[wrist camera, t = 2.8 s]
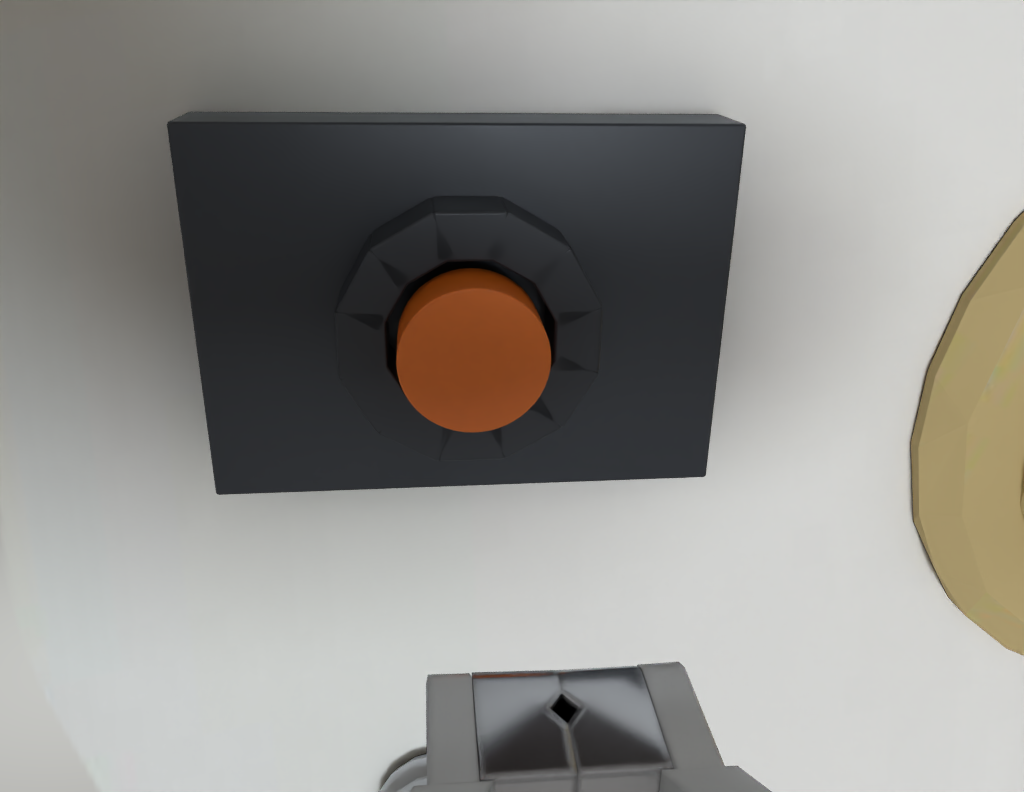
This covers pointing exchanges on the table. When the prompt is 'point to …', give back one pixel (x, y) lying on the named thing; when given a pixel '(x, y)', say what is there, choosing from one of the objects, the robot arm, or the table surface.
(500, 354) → the round orange button
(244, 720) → the table surface
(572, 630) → the table surface
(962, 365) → the desk lamp
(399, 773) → the rook chess piece
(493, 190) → the dark grey button base
